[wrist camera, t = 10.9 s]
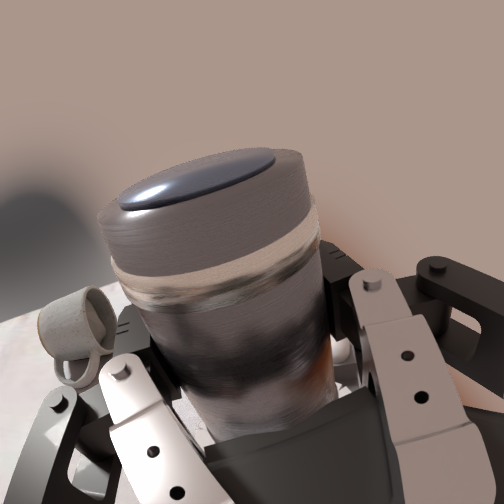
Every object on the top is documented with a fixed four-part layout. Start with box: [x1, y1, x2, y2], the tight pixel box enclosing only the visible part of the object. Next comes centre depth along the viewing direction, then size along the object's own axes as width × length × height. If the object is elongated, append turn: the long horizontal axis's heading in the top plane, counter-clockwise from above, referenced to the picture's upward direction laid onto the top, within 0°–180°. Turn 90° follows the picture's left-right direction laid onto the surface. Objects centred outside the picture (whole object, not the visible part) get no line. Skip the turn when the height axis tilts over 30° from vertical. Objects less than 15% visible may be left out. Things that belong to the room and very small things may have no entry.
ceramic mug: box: [37, 286, 118, 388], centre depth 30 cm, size 11×8×8 cm
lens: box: [97, 148, 339, 443], centre depth 10 cm, size 5×5×11 cm
